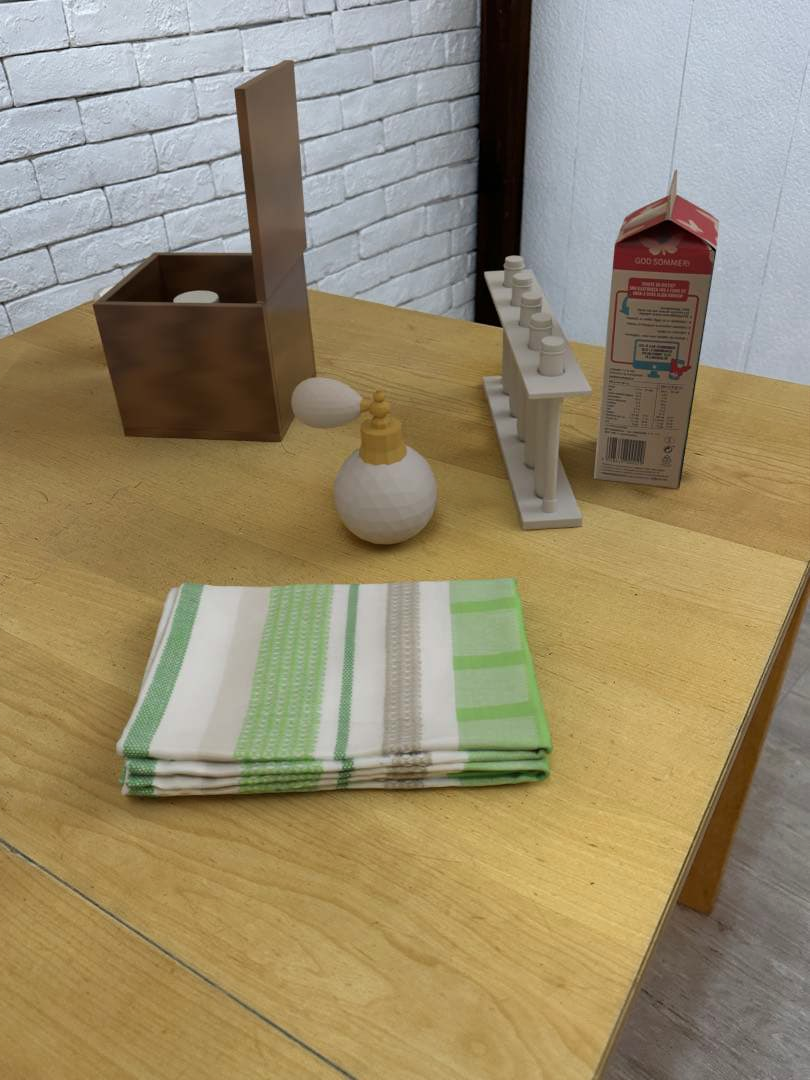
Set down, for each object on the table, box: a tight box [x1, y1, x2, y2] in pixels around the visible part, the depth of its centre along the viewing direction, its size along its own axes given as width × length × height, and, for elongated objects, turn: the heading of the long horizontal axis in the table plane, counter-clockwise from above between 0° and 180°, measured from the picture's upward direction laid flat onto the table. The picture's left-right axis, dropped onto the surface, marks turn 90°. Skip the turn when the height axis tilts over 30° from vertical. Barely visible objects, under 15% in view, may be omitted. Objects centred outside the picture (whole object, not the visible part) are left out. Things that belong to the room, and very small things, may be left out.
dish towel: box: [115, 577, 554, 798], centre depth 53 cm, size 17×23×4 cm
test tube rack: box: [481, 255, 593, 531], centre depth 73 cm, size 25×4×13 cm, turn 3°
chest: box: [92, 251, 318, 443], centre depth 83 cm, size 15×14×12 cm
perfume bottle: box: [291, 376, 438, 545], centre depth 64 cm, size 8×10×12 cm
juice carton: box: [593, 169, 720, 490], centre depth 68 cm, size 7×7×22 cm
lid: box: [233, 59, 308, 302], centre depth 73 cm, size 15×14×1 cm
